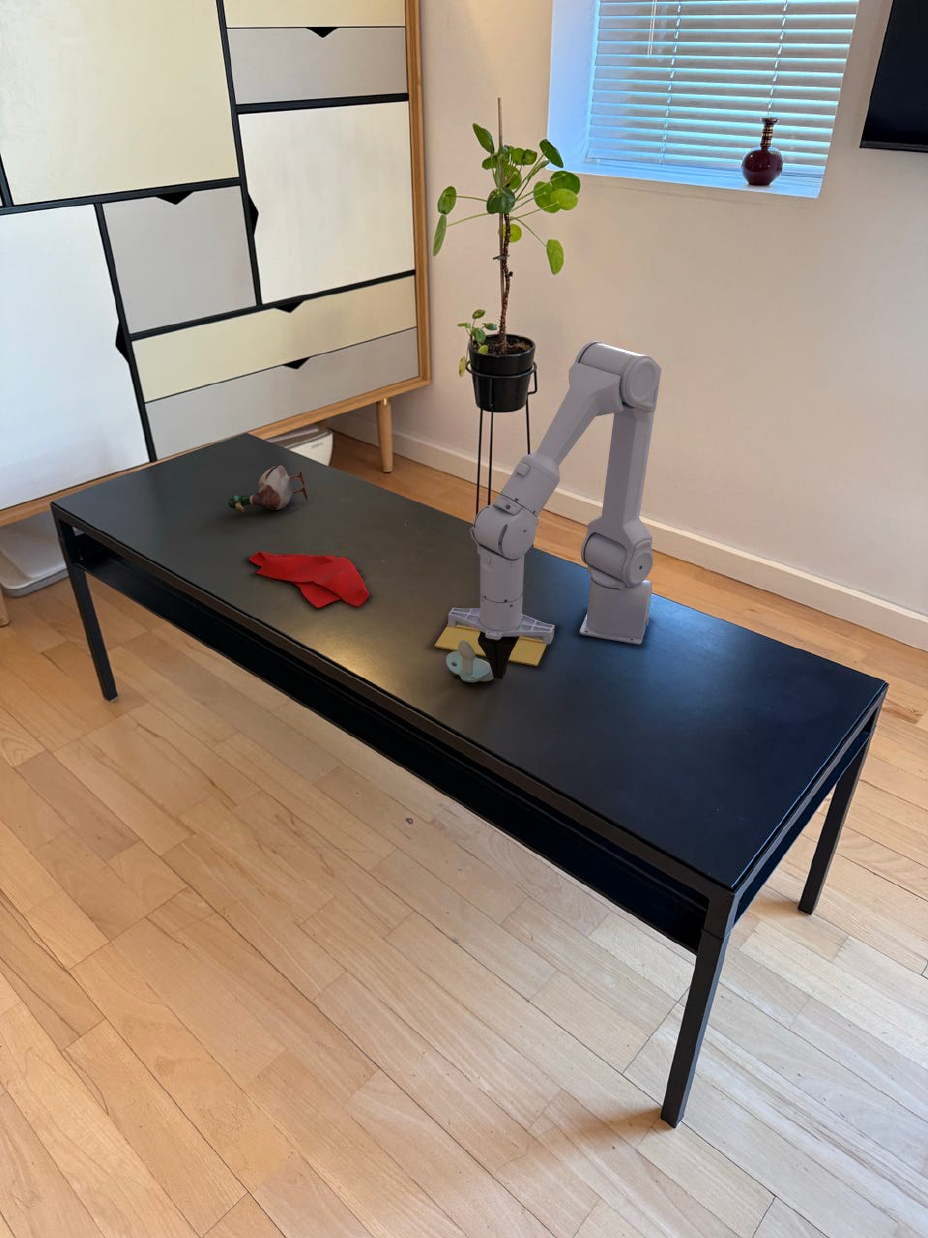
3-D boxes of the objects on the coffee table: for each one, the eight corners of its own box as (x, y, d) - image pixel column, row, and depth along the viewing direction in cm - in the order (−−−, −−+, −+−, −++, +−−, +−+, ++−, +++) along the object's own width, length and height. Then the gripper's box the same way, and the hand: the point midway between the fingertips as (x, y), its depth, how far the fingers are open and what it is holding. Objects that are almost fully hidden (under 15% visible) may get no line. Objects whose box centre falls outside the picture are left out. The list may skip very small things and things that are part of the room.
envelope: (554, 627, 138) (555, 624, 138) (537, 666, 129) (537, 663, 129) (458, 610, 143) (457, 607, 142) (434, 647, 134) (434, 644, 133)
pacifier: (472, 656, 132) (440, 670, 129) (473, 620, 129) (441, 633, 125) (505, 678, 127) (473, 694, 124) (507, 642, 124) (474, 656, 121)
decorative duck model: (225, 495, 165) (218, 462, 177) (235, 530, 169) (227, 496, 181) (304, 478, 168) (292, 447, 180) (312, 513, 172) (300, 480, 184)
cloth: (396, 588, 148) (395, 576, 147) (330, 619, 140) (329, 607, 139) (304, 538, 164) (303, 527, 163) (240, 563, 156) (238, 551, 155)
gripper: (440, 597, 117) (441, 680, 124) (546, 616, 113) (542, 700, 120) (457, 572, 123) (458, 653, 130) (559, 589, 119) (554, 671, 126)
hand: (499, 674), depth 125 cm, fingers closed
